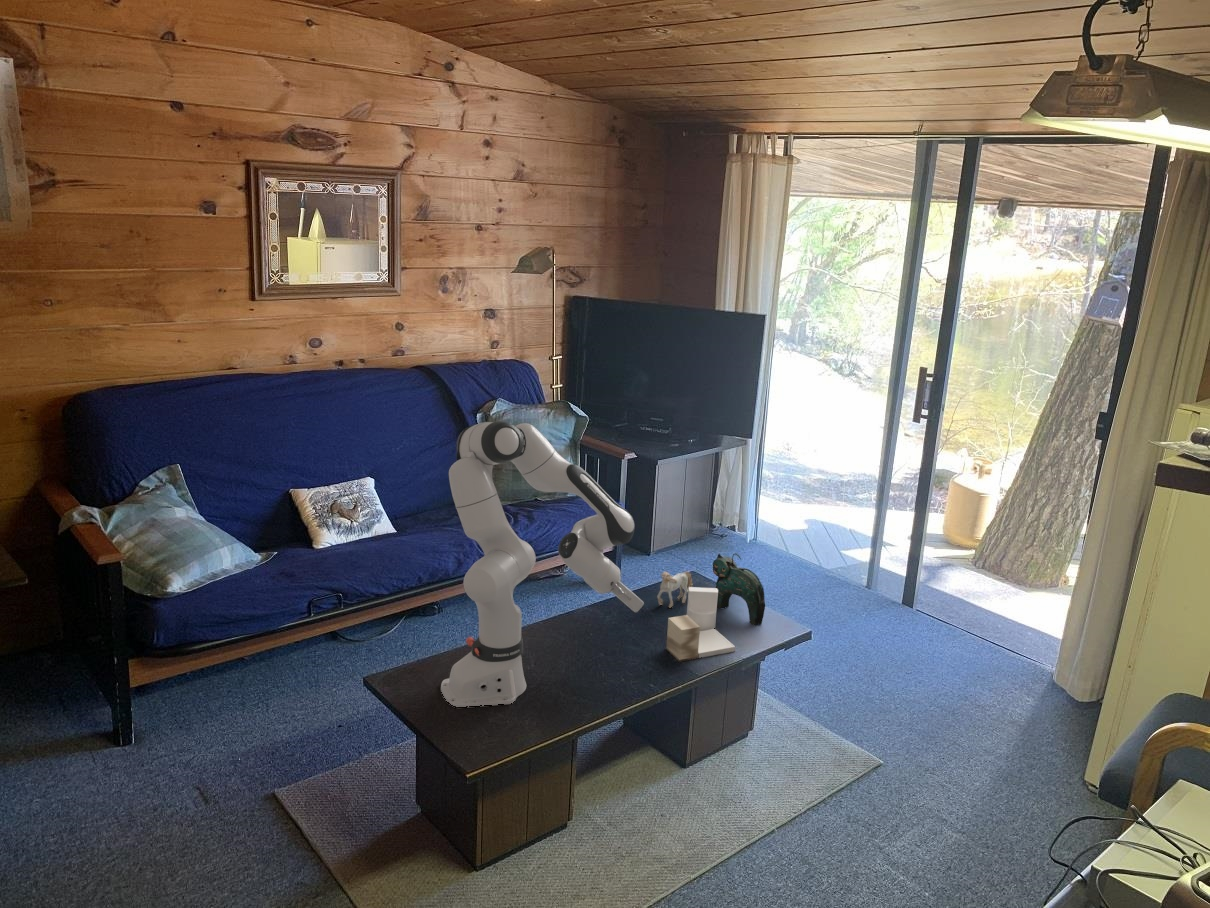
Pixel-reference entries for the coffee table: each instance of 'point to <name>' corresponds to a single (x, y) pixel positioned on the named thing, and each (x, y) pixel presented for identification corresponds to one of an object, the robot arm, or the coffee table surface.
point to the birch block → (683, 638)
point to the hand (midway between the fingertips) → (635, 604)
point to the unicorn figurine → (674, 586)
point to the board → (713, 643)
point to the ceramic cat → (739, 587)
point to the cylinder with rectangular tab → (702, 606)
